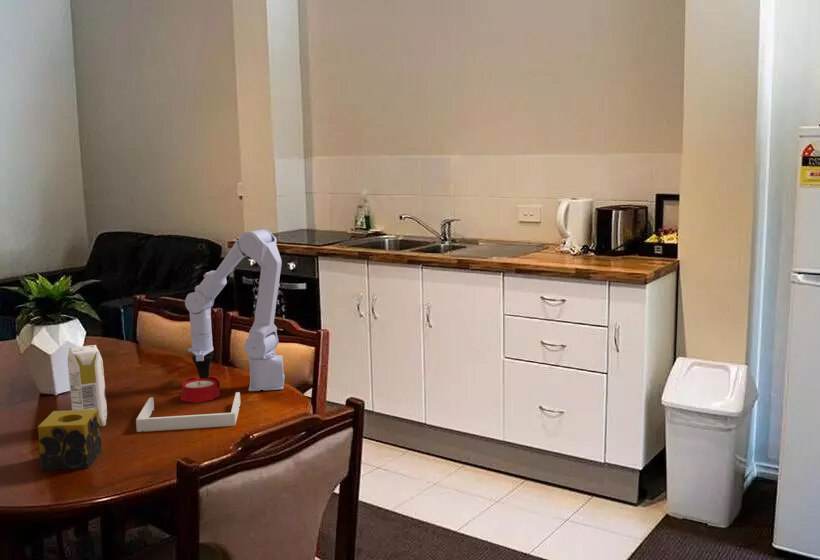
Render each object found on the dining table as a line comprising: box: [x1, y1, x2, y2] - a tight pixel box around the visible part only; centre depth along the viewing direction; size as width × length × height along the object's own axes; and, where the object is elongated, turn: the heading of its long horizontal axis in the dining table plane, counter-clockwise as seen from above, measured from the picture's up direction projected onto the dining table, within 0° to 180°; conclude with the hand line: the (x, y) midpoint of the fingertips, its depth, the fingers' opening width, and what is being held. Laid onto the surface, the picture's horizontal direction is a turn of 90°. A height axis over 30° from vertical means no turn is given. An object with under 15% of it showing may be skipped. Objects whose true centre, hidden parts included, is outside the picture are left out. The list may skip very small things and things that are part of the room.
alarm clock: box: [179, 376, 221, 404], centre depth 219 cm, size 10×6×15 cm
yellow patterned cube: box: [37, 409, 103, 471], centre depth 173 cm, size 10×10×10 cm
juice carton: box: [67, 344, 108, 427], centre depth 196 cm, size 8×9×19 cm
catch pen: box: [135, 391, 241, 433], centre depth 201 cm, size 23×18×3 cm
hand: (204, 379), depth 230 cm, fingers closed
